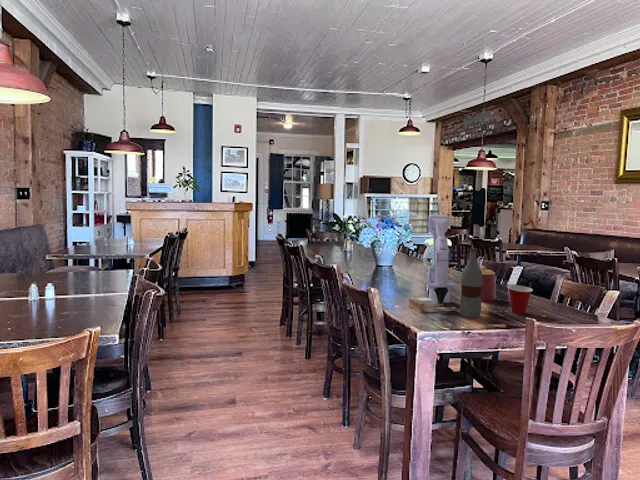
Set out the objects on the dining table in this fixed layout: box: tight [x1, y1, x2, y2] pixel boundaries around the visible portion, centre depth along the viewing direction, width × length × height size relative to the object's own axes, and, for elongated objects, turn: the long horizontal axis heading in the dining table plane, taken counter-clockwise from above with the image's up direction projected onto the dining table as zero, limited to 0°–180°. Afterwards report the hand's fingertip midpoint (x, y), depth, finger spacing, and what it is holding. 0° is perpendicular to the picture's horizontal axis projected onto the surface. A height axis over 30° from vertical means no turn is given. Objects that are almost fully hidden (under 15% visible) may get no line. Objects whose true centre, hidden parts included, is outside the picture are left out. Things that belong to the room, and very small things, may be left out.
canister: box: [480, 265, 497, 302], centre depth 245 cm, size 13×13×18 cm
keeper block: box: [415, 297, 434, 309], centre depth 220 cm, size 6×6×5 cm
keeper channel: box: [408, 298, 456, 314], centre depth 222 cm, size 18×11×4 cm, turn 107°
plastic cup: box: [507, 284, 534, 315], centre depth 216 cm, size 11×11×12 cm
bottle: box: [459, 248, 483, 319], centre depth 208 cm, size 9×9×30 cm
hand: (440, 303), depth 223 cm, fingers closed
